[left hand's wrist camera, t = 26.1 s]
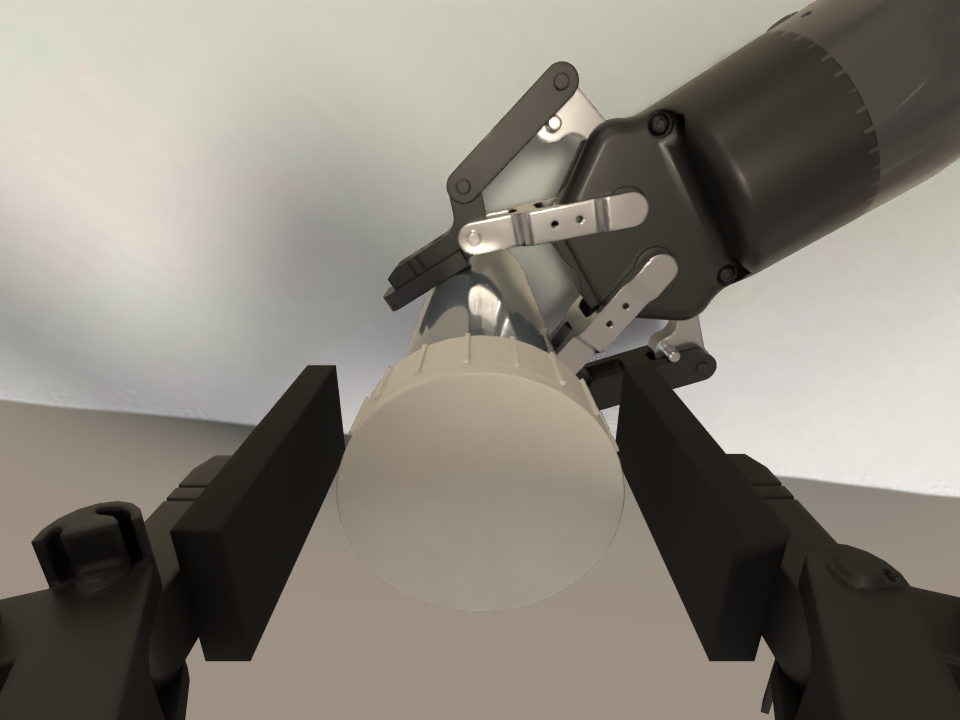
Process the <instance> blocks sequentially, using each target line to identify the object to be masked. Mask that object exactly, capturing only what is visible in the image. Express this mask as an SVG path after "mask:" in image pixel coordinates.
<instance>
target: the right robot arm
mask: <svg viewBox="0 0 960 720" xmlns="http://www.w3.org/2000/svg"><path fill="white" fill-rule="evenodd" d="M578 84H579V77H578V73H577V71H576V69H575V68H574V66H573V65H571V64H570V63H568V62H563V61H562V62H557V63H554V64H553V65H551V66H550V67H549V68H548V69H547V70H546V71H545V73H544V74H543V75H542V76H541V77H540V78H539V79H538V80H537V81H536V82H535V83H534V85H533V86H532V87H531V88H530V89H529V90H528V91H527V92H526V93H525V94H524V95H523V97H522V98H521V99H520V100H519V101H518V102H517V103H516V104H515V105H514V106H513V107H512V108H511V110H510V111H509V112H508V113H507V114H506V115H505V116H504V117H503V118H502V119H501V120H500V122H499V123H498V124H497V125H496V126H495V127H494V128H493V129H492V130H491V131H490V132H489V134H488V135H487V136H486V137H485V138H484V139H483V140H482V141H481V142H480V143H479V144H478V145H477V147H476V148H475V149H474V150H473V151H472V152H471V153H470V154H469V155H468V156H467V157H466V159H465V160H464V161H463V162H462V163H461V164H460V165H459V166H458V167H457V168H456V169H455V171H454V172H453V173H452V174H451V175H450V176H449V178H448V181H447V192H448V194H449V197H450V201H451V206H452V210H453V215H454V223H453V226H452V227H451V229H450V230H449V231H447V232H446V233H444V234H443V235H441V236H440V237H438V238H437V239H435V240H433V241H432V242H430V243H429V244H427V245H426V246H424V247H422V248H421V249H420V250H418V251H416V252H415V253H413V254H412V255H410V256H408V257H407V258H405V259H404V260H402V261H401V262H400V263H399V264H398V265H397V267H396V268H395V269H394V271H393V272H392V274H391V275H390V277H389V278H388V280H389V282H390V283H391V285H392V287H390V288H389V289H388V291H387V292H386V294H385V295H384V296H383V298H384V299H385V301H386V302H387V304H388V305H389V307H390V308H391V309H392V311H396V310H398V309H400V308H402V307H403V306H405V305H406V304H408V303H410V302H411V301H413V300H415V299H416V298H418V297H419V296H421V295H423V294H424V293H426V292H427V291H429V290H431V289H432V288H434V287H436V286H437V285H439V284H440V283H442V282H443V281H445V280H446V279H448V278H450V277H452V276H453V275H455V274H457V273H458V272H460V271H461V270H463V269H465V268H466V267H468V266H469V264H470V258H471V257H472V256H474V255H477V254H482V253H487V252H492V251H497V250H502V249H507V248H512V247H517V246H533V245H539V244H544V243H549V242H552V244H553V246H554V248H555V250H556V251H557V252H558V253H559V255H560V256H561V257H562V258H563V259H564V260H565V261H566V262H567V263H568V264H569V265H570V269H571V274H572V278H573V282H574V284H575V285H576V287H577V289H578V291H579V293H580V294H581V295H580V296H579V297H578V298H577V299H576V301H575V302H574V303H573V304H572V305H571V306H570V308H569V309H568V310H567V312H566V314H565V317H564V319H563V321H562V322H561V323H560V324H559V325H558V326H557V328H556V329H555V330H554V331H553V332H552V333H551V334H550V336H549V338H550V340H551V343H552V345H553V348H554V351H555V353H556V356H557V358H558V360H559V361H561V362H562V363H563V364H564V365H565V366H566V367H568V368H569V369H570V370H571V371H572V372H573V373H574V374H575V375H576V376H577V378H578V379H579V380H581V379H582V378H583V379H584V380H585V382H586V384H587V386H588V388H589V390H590V393H591V395H592V397H593V399H594V401H595V403H596V405H597V407H598V410H603V409H606V408H610V407H613V406H617V405H620V398H621V389H622V380H623V371H624V365H652V366H653V367H654V368H655V369H656V370H657V372H658V373H659V374H660V375H661V376H662V378H663V379H664V380H665V381H666V382H667V384H668V385H669V386H670V387H671V388H672V389H675V388H679V387H682V386H686V385H689V384H692V383H696V382H699V381H703V380H706V379H708V378H710V377H711V376H712V375H713V374H714V372H715V370H716V361H715V359H714V358H713V357H712V356H711V355H710V354H709V353H708V352H707V351H706V350H705V348H704V344H703V338H702V333H701V327H700V322H699V317H698V315H699V314H700V313H701V312H702V311H703V310H704V309H705V308H706V307H707V306H708V304H709V303H710V302H711V300H712V299H713V298H714V297H715V296H716V295H717V294H718V293H719V292H720V291H721V290H722V289H724V288H725V287H727V286H729V285H731V284H733V283H735V282H738V281H740V280H743V279H745V278H748V277H750V276H752V275H754V274H756V273H758V272H760V271H762V270H763V269H765V268H767V267H769V266H771V265H773V264H774V263H776V262H778V261H780V260H782V259H784V258H785V257H787V256H789V255H791V254H793V253H795V252H796V251H798V250H800V249H802V248H804V247H805V246H807V245H809V244H811V243H813V242H815V241H816V240H818V239H820V238H822V237H824V236H826V235H827V234H829V233H831V232H833V231H835V230H837V229H838V228H840V227H842V226H844V225H846V224H848V223H849V222H851V221H853V220H855V219H857V218H858V217H860V216H862V215H864V214H865V213H867V212H869V211H871V210H873V209H875V208H876V207H878V206H880V205H882V204H884V203H886V202H888V201H889V200H891V199H893V198H895V197H897V196H899V195H901V194H902V193H904V192H906V191H908V190H910V189H912V188H913V187H915V186H917V185H919V184H921V183H922V182H924V181H926V180H927V179H929V178H931V177H932V176H934V175H936V174H937V173H939V172H940V171H941V170H943V169H944V168H946V167H947V166H949V165H950V164H952V163H953V162H954V161H956V160H957V159H959V158H960V0H816V1H815V2H813V3H812V4H810V5H809V6H807V7H805V8H804V9H802V10H801V11H799V12H795V13H793V14H791V15H787V16H786V17H784V18H782V19H781V20H779V21H778V22H777V23H775V24H774V25H773V26H771V27H770V28H769V29H768V30H767V32H766V33H765V34H763V35H762V36H760V37H758V38H757V39H755V40H754V41H752V42H751V43H749V44H747V45H746V46H744V47H743V48H741V49H740V50H738V51H736V52H735V53H733V54H732V55H730V56H729V57H727V58H726V59H724V60H723V61H721V62H719V63H718V64H716V65H715V66H713V67H712V68H710V69H708V70H707V71H705V72H704V73H702V74H701V75H699V76H698V77H696V78H694V79H693V80H691V81H690V82H688V83H687V84H685V85H683V86H682V87H680V88H679V89H677V90H676V91H674V92H673V93H671V94H669V95H668V96H666V97H665V98H663V99H662V100H660V101H658V102H657V103H655V104H654V105H652V106H651V107H649V108H647V109H646V110H644V111H643V112H641V113H639V114H637V115H635V116H633V117H629V118H614V119H610V120H607V121H606V120H605V119H604V118H603V117H602V116H601V114H600V113H599V112H598V111H597V110H596V108H595V107H594V106H593V105H592V103H591V102H590V101H589V100H588V99H587V97H586V96H585V95H584V94H583V93H582V91H581V90H580V89H579V88H578ZM566 135H575V136H577V137H579V138H580V139H581V140H582V141H581V143H580V145H579V147H578V150H577V152H576V154H575V156H574V159H573V161H572V163H571V165H570V168H569V170H568V172H567V174H566V177H565V179H564V181H563V183H562V186H561V188H560V190H559V192H558V195H557V197H555V198H550V199H545V200H541V201H536V202H531V203H526V204H521V205H517V206H514V207H512V208H507V209H503V210H498V211H493V212H488V213H486V212H485V207H484V202H483V196H482V191H483V190H484V189H485V188H486V187H487V186H488V184H489V183H490V182H491V181H492V180H493V179H494V178H495V177H496V176H497V175H498V174H499V173H500V172H501V171H502V170H503V169H504V168H505V167H506V166H507V164H508V163H509V162H510V161H511V160H512V159H513V158H514V157H515V156H516V155H517V154H518V153H519V152H520V151H521V150H522V149H523V148H524V147H525V146H526V144H527V143H528V142H529V141H530V140H531V139H532V138H533V137H534V136H536V137H537V138H538V139H539V140H540V141H541V142H544V143H553V142H557V141H559V140H560V139H562V138H563V137H564V136H566ZM634 318H646V319H660V320H669V321H668V324H667V325H666V327H665V328H664V329H662V330H661V331H659V332H657V333H655V334H654V335H652V337H651V338H650V340H649V342H648V345H646V346H643V347H639V348H636V349H633V350H629V351H626V352H623V353H620V354H616V355H613V356H610V357H606V358H603V359H600V360H596V361H593V362H590V363H587V362H588V360H589V359H590V358H591V357H592V356H593V355H594V354H596V353H600V352H602V351H604V350H605V349H606V348H607V347H608V346H609V345H610V344H611V343H612V342H613V341H614V340H615V338H616V337H617V336H618V335H619V334H620V333H621V332H622V331H623V330H624V329H625V328H626V327H627V325H628V324H629V323H630V322H631V321H632V320H633V319H634ZM608 321H609V322H608ZM607 322H608V323H607Z"/></svg>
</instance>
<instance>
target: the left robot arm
mask: <svg viewBox="0 0 960 720" xmlns="http://www.w3.org/2000/svg"><path fill="white" fill-rule="evenodd" d="M616 444H617V446H618V448H619V451H618V452H617V454H618V457H619V459H620V463H621V467H622V471H623V473H624V475H625V477H626V479H627V481H628V484H629V486H630V488H631V490H632V492H633V495H634V497H635V499H636V501H637V503H638V505H639V508H640V510H641V512H642V514H643V516H644V519H645V521H646V523H647V525H648V527H649V529H650V532H651V534H652V536H653V538H654V540H655V543H656V545H657V547H658V549H659V552H660V554H661V556H662V558H663V560H664V562H665V565H666V567H667V569H668V571H669V573H670V576H671V578H672V580H673V582H674V584H675V586H676V589H677V591H678V593H679V595H680V597H681V600H682V602H683V604H684V606H685V608H686V611H687V613H688V615H689V617H690V619H691V622H692V624H693V626H694V628H695V630H696V633H697V635H698V637H699V639H700V641H701V643H702V646H703V648H704V650H705V652H706V654H707V656H708V659H709V661H755V657H756V653H757V650H758V646H759V643H760V639H761V635H762V636H763V638H764V640H765V641H766V643H767V645H768V646H769V648H770V650H771V651H772V653H773V655H774V657H775V661H774V664H773V668H772V671H771V674H770V678H769V681H768V684H767V688H766V691H765V694H764V698H763V702H762V708H761V712H763V713H766V714H769V711H770V708H771V704H772V702H773V706H774V715H775V720H960V597H956V596H951V595H947V594H942V593H938V592H933V591H928V590H924V589H919V588H915V587H911V586H910V585H909V584H908V583H907V581H906V580H905V578H904V577H903V576H902V574H901V573H900V572H898V571H897V570H896V569H894V568H893V567H892V566H891V565H889V564H888V563H887V562H886V561H884V560H882V559H880V558H878V557H876V556H874V555H872V554H870V553H869V552H867V551H864V550H861V549H858V548H855V547H852V546H849V545H844V544H838V543H837V542H836V541H835V540H834V539H833V538H832V537H831V536H830V535H829V534H828V533H827V532H826V531H825V529H824V528H823V527H822V526H821V525H820V524H819V523H818V522H817V521H816V520H815V519H814V518H813V517H812V515H811V514H810V513H809V512H808V511H807V510H806V509H805V508H804V507H803V506H802V505H801V504H800V503H799V501H798V500H794V496H793V495H792V494H791V493H790V492H789V491H788V490H787V489H786V488H785V487H784V486H782V485H781V482H780V481H779V480H778V479H777V478H776V477H775V476H774V475H773V473H772V472H771V471H770V470H769V469H768V468H767V467H765V466H764V465H762V464H760V463H759V462H757V461H756V460H754V459H752V458H751V457H749V456H747V455H746V454H726V453H725V452H724V451H723V450H722V448H721V447H720V446H719V445H718V444H717V442H716V441H715V440H714V439H713V438H712V436H711V435H710V434H709V433H708V432H707V430H706V429H705V428H704V427H703V426H702V424H701V423H700V422H699V421H698V420H697V418H696V417H695V416H694V415H693V414H692V412H691V411H690V410H689V409H688V408H687V406H686V405H685V404H684V403H683V402H682V400H681V399H680V398H679V397H678V396H677V394H676V393H675V392H674V391H673V390H672V388H671V387H670V386H669V385H668V384H667V382H666V381H665V380H664V379H663V378H662V376H661V375H660V374H659V373H658V372H657V370H656V369H655V368H654V367H653V366H652V365H624V371H623V380H622V389H621V398H620V407H619V416H618V425H617V434H616ZM344 452H345V442H344V434H343V425H342V416H341V407H340V398H339V389H338V380H337V371H336V365H308V366H307V367H306V368H305V369H304V370H303V372H302V373H301V374H300V375H299V376H298V378H297V379H296V380H295V381H294V382H293V384H292V385H291V386H290V387H289V388H288V390H287V391H286V392H285V393H284V394H283V396H282V397H281V398H280V399H279V400H278V402H277V403H276V404H275V405H274V406H273V408H272V409H271V410H270V411H269V412H268V414H267V415H266V416H265V417H264V418H263V420H262V421H261V422H260V423H259V424H258V426H257V427H256V428H255V429H254V431H253V432H252V433H251V434H250V435H249V436H248V438H247V439H246V440H245V441H244V442H243V444H242V445H241V446H240V447H239V449H238V450H237V451H236V452H235V453H234V454H233V456H214V457H212V458H211V459H209V460H208V461H206V462H204V463H203V464H201V465H199V466H198V467H196V468H195V469H193V470H192V471H191V472H190V474H189V475H188V476H187V477H186V478H185V479H184V480H183V481H182V482H181V483H180V484H179V488H176V489H175V490H174V491H173V492H172V493H171V494H170V495H169V496H168V497H167V501H166V502H163V503H162V504H161V505H160V506H159V507H158V508H157V509H156V510H155V511H154V513H153V514H152V515H151V516H150V517H149V518H148V519H147V520H146V521H145V522H144V520H143V517H142V514H141V510H140V509H139V508H138V507H137V506H135V505H134V504H132V503H128V502H120V501H115V502H106V503H98V504H95V505H91V506H88V507H85V508H81V509H78V510H76V511H74V512H72V513H69V514H67V515H65V516H63V517H61V518H59V519H57V520H56V521H54V522H53V523H51V524H50V525H48V526H47V527H46V528H44V529H43V530H41V532H40V533H39V534H38V535H37V536H36V537H35V538H34V540H33V541H32V542H31V543H32V545H33V548H34V550H35V553H36V555H37V557H38V560H39V562H40V565H41V567H42V570H43V572H44V575H45V577H46V580H47V582H48V585H49V589H46V590H42V591H37V592H33V593H28V594H24V595H19V596H15V597H11V598H6V599H1V600H0V720H185V716H186V708H187V699H188V690H189V681H190V679H189V673H188V668H187V664H186V661H185V659H186V658H187V656H188V654H189V653H190V651H191V649H192V647H193V646H194V644H195V642H196V641H197V639H198V637H199V639H200V643H201V646H202V650H203V653H204V657H205V661H251V659H252V657H253V654H254V652H255V650H256V648H257V646H258V643H259V641H260V639H261V637H262V635H263V633H264V630H265V628H266V626H267V624H268V622H269V619H270V617H271V615H272V613H273V611H274V608H275V606H276V604H277V602H278V600H279V597H280V595H281V593H282V591H283V589H284V587H285V584H286V582H287V580H288V578H289V576H290V573H291V571H292V569H293V567H294V565H295V562H296V560H297V558H298V556H299V554H300V552H301V549H302V547H303V545H304V543H305V541H306V538H307V536H308V534H309V532H310V530H311V527H312V525H313V523H314V521H315V519H316V516H317V514H318V512H319V510H320V508H321V506H322V503H323V501H324V499H325V497H326V495H327V492H328V490H329V488H330V486H331V484H332V481H333V479H334V477H335V475H336V473H337V470H338V468H339V466H340V464H341V461H342V457H343V454H344Z"/></svg>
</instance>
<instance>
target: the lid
mask: <svg viewBox="0 0 960 720" xmlns="http://www.w3.org/2000/svg"><path fill="white" fill-rule="evenodd" d="M348 435H350V436H352V437H351V439H350V441H349V443H348V446H347V448H346V450H345V452H344V454H343V457H342V461H341V464H340V467H339V471H338V479H337V505H338V510H339V516H340V520H341V522H342V525H343V528H344V531H345V534H346V536H347V537H348V539H349V541H350V543H351V545H352V547H353V548H354V550H355V551H356V553H357V554H358V555H359V557H360V558H361V559H362V560H363V562H364V563H365V564H366V565H367V566H368V567H369V568H370V569H371V570H372V571H373V572H374V573H375V574H376V575H378V576H379V577H380V578H381V579H382V580H384V581H385V582H386V583H388V584H389V585H391V586H392V587H394V588H396V589H397V590H399V591H401V592H402V593H404V594H406V595H408V596H410V597H412V598H415V599H417V600H420V601H423V602H425V603H428V604H431V605H435V606H439V607H443V608H448V609H454V610H460V611H474V612H487V611H501V610H508V609H514V608H518V607H522V606H526V605H530V604H533V603H536V602H539V601H541V600H544V599H546V598H549V597H551V596H553V595H555V594H557V593H559V592H561V591H562V590H564V589H566V588H567V587H569V586H571V585H572V584H574V583H575V582H576V581H577V580H579V579H580V578H581V577H583V576H584V575H585V574H586V573H587V572H588V571H589V570H590V569H591V568H592V567H593V566H594V565H595V564H596V563H597V562H598V561H599V559H600V558H601V557H602V556H603V554H604V553H605V552H606V550H607V549H608V547H609V545H610V543H611V542H612V540H613V538H614V536H615V534H616V531H617V529H618V526H619V523H620V520H621V516H622V511H623V507H624V495H625V486H624V476H623V471H622V467H621V463H620V459H619V457H618V454H617V452H618V451H619V448H618V446H617V444H616V442H615V439H614V437H613V435H612V433H611V431H610V429H609V427H608V425H607V423H606V421H605V419H604V416H603V414H602V412H599V410H598V407H597V405H596V403H595V401H594V399H593V397H592V395H591V393H590V390H589V388H588V386H587V384H586V382H585V380H584V379H583V378H582V379H581V380H579V379H578V378H577V376H576V375H575V374H574V373H573V372H572V371H571V370H570V369H569V368H568V367H566V366H565V365H564V364H563V363H562V362H561V361H559V360H558V359H557V358H556V355H555V353H553V352H550V354H549V353H547V352H545V351H543V350H541V349H539V348H537V347H535V346H533V345H530V344H527V343H524V342H521V341H518V340H515V337H514V336H510V338H504V337H498V336H485V335H478V336H470V333H465V336H463V337H457V338H452V339H447V340H444V341H440V342H437V343H434V344H431V345H429V346H428V345H427V343H426V344H423V345H422V348H421V349H420V350H418V351H416V352H414V353H413V354H411V355H409V356H408V357H406V358H405V359H403V360H402V361H401V362H399V363H398V364H397V365H396V366H395V367H393V368H392V367H391V366H390V367H388V368H387V371H386V373H385V375H384V377H383V379H382V380H381V381H380V382H379V384H378V385H377V387H376V388H375V390H374V391H373V393H372V394H371V396H370V398H367V397H366V398H365V400H364V402H363V404H362V406H361V408H360V410H359V412H358V415H357V417H356V419H355V421H354V423H353V425H352V427H351V429H350V431H349V433H348Z"/></svg>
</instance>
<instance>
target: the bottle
mask: <svg viewBox="0 0 960 720" xmlns="http://www.w3.org/2000/svg"><path fill="white" fill-rule="evenodd" d="M465 333H470V336H478V335H485V336H498V337H504V338H510V336H514V337H515V340H518V341H521V342H524V343H527V344H530V345H533V346H535V347H537V348H539V349H541V350H543V351H545V352H547V353H549V354H550V352H553V353H555V351H554V348H553V345H552V343H551V340H550V338H549V335H548V332H547V330H546V327H545V325H544V322H543V319H542V317H541V314H540V312H539V309H538V307H537V304H536V301H535V299H534V296H533V294H532V291H531V288H530V286H529V283H528V281H527V278H526V275H525V273H524V270H523V268H522V266H521V264H520V263H519V261H518V260H517V258H516V257H515V256H514V255H513V254H512V253H511V252H510V251H508V250H507V249H502V250H497V251H492V252H487V253H482V254H477V255H474V256H472V257H471V258H470V264H469V266H468V267H466V268H465V269H463V270H461V271H460V272H458V273H457V274H455V275H453V276H452V277H450V278H448V279H446V280H445V281H443V282H442V283H440V284H439V285H437V286H436V287H434V288H432V289H431V290H430V291H429V293H428V296H427V298H426V301H425V304H424V306H423V309H422V311H421V314H420V317H419V319H418V322H417V324H416V327H415V330H414V332H413V335H412V337H411V340H410V343H409V345H408V348H407V350H406V353H405V356H404V358H403V359H405V358H406V357H408V356H409V355H411V354H413V353H414V352H416V351H418V350H420V349H421V348H422V345H423V344H426V343H427V345H428V346H429V345H431V344H434V343H437V342H440V341H444V340H447V339H452V338H457V337H463V336H465ZM555 355H556V353H555ZM556 358H557V356H556ZM557 359H558V358H557Z"/></svg>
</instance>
